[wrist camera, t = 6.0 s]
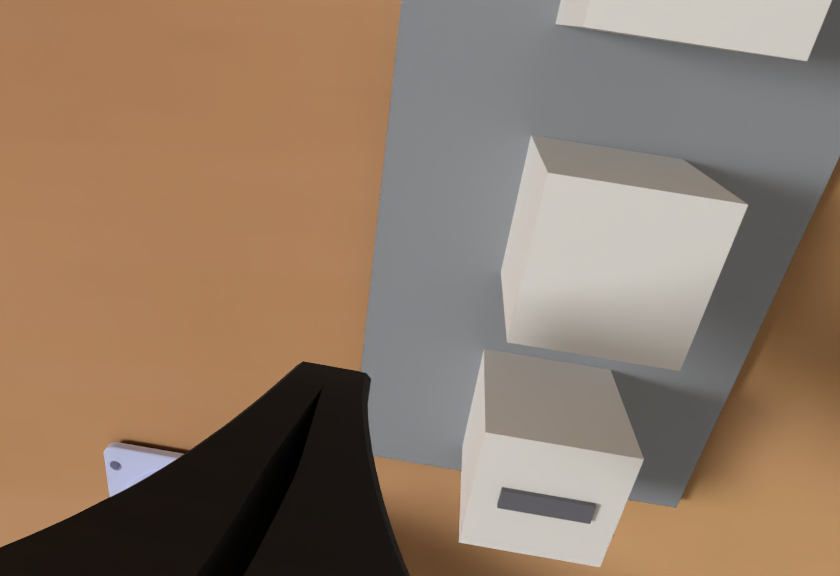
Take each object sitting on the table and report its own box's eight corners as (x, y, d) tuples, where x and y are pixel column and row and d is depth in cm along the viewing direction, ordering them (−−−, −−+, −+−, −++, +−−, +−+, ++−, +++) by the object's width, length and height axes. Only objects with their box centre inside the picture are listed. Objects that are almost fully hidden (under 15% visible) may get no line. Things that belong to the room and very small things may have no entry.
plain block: (636, 294, 19) (680, 371, 15) (500, 272, 19) (507, 342, 15) (682, 159, 17) (748, 204, 13) (530, 134, 17) (547, 172, 13)
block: (581, 466, 22) (605, 572, 18) (462, 446, 22) (458, 546, 18) (615, 370, 20) (650, 464, 16) (483, 348, 20) (485, 435, 16)
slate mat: (671, 496, 23) (676, 507, 22) (355, 441, 23) (352, 451, 23) (982, -188, 13) (1003, -197, 13) (433, -267, 14) (432, -278, 13)
